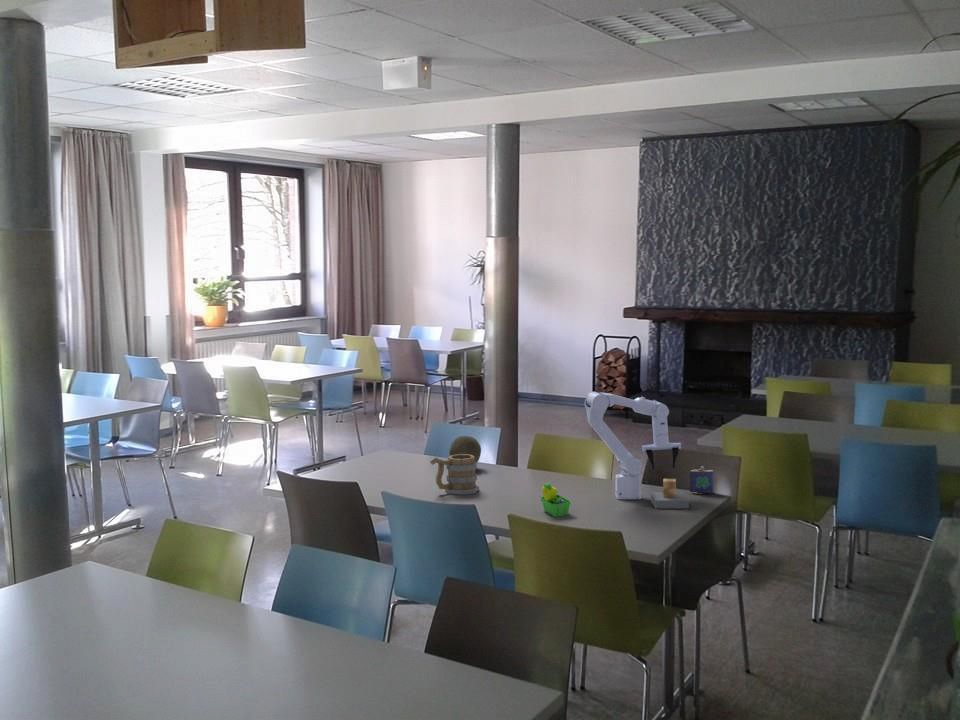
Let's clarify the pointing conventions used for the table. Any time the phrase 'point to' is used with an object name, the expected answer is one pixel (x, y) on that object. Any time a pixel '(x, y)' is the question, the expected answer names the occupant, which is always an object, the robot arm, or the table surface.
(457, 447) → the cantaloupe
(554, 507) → the fruit basket
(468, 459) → the tankard
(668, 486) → the oak block
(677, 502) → the base block
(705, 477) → the flask
